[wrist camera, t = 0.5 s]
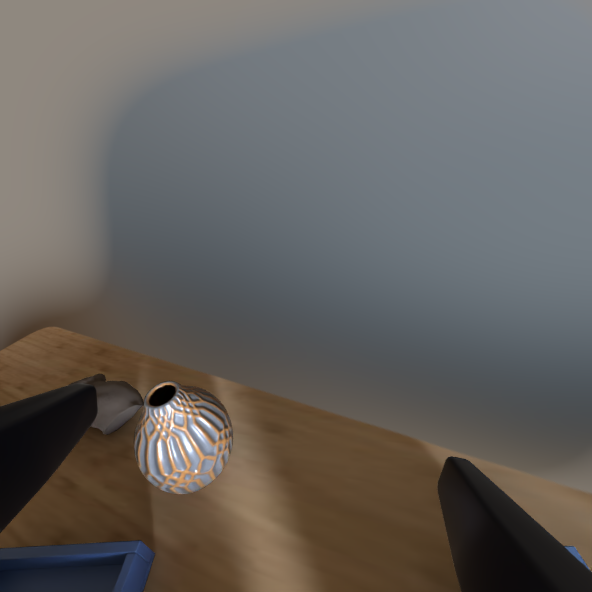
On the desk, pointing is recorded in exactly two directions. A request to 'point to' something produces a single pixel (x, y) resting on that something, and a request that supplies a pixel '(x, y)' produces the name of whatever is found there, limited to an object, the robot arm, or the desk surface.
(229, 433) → the vase
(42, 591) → the blue tray
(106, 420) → the figurine
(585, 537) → the desk surface
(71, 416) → the robot arm
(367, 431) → the desk surface
